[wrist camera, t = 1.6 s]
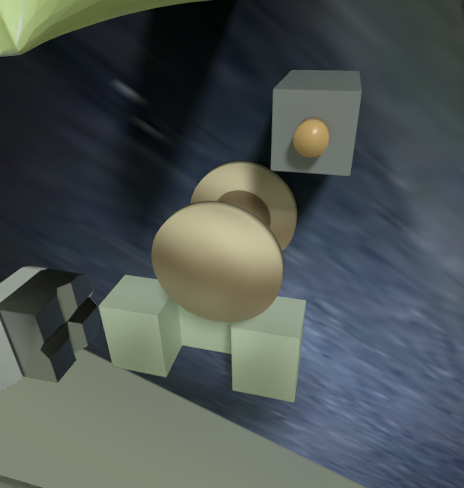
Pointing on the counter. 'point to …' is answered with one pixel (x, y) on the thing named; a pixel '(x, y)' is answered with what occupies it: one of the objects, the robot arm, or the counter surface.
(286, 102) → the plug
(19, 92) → the counter surface
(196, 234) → the bobbin
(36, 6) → the tube
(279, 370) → the notch board
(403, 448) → the counter surface
